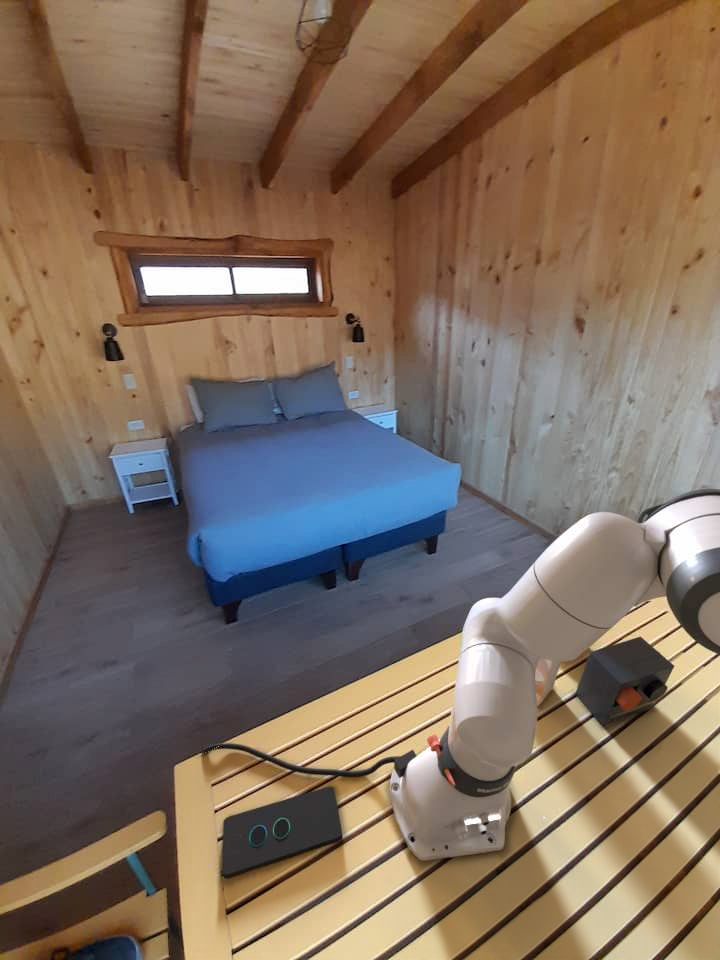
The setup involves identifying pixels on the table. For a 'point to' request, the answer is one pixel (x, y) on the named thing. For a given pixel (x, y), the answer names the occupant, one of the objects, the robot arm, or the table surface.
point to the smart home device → (280, 831)
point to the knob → (628, 699)
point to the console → (623, 679)
